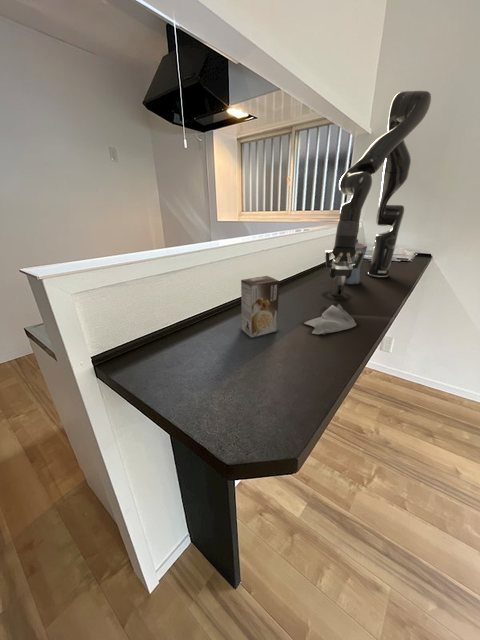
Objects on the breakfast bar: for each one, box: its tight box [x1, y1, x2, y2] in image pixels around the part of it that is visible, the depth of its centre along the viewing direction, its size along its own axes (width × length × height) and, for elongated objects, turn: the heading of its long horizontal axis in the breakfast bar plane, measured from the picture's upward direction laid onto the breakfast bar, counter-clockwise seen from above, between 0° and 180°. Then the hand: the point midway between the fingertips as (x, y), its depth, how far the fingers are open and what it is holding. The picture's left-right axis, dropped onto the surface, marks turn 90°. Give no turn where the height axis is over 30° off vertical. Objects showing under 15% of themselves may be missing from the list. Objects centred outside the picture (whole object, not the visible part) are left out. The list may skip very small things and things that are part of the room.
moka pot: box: [343, 238, 368, 285], centre depth 120 cm, size 10×15×20 cm, turn 158°
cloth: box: [303, 303, 357, 336], centre depth 86 cm, size 26×14×2 cm, turn 139°
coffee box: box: [240, 275, 280, 339], centre depth 77 cm, size 9×6×16 cm
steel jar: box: [330, 265, 350, 297], centre depth 104 cm, size 7×5×11 cm
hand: (339, 277), depth 104 cm, fingers closed on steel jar, 5 cm apart
